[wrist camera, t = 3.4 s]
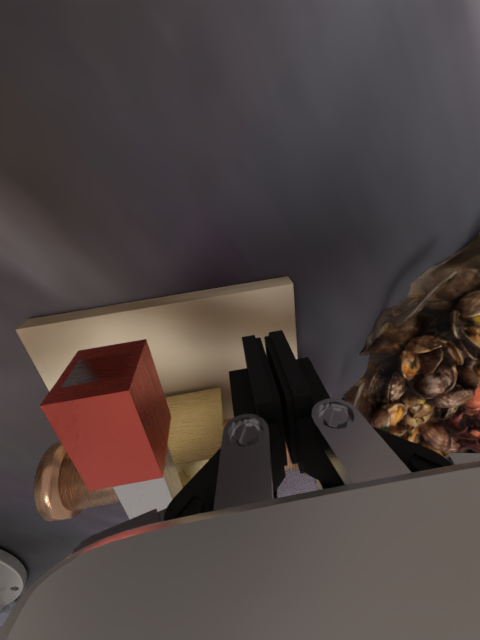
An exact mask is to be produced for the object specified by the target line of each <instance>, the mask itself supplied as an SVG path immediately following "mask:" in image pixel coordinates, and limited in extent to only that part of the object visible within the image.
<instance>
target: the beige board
mask: <svg viewBox="0 0 480 640" xmlns="http://www.w3.org/2000/svg"><path fill="white" fill-rule="evenodd" d="M279 330H282V331H283V333H284V335H285V337H286V339H287V341H288V343H289V346H290V348H291V350H292V352H293V354H294V356H295V358H296V359H298V356H297V339H296V322H295V305H294V287H293V283H292V281H291V280H290V279H289V277H288V276H286V277H280V278H274V279H268V280H262V281H256V282H250V283H244V284H238V285H231V286H225V287H219V288H213V289H207V290H201V291H195V292H189V293H183V294H177V295H171V296H165V297H159V298H153V299H147V300H141V301H134V302H128V303H122V304H116V305H110V306H104V307H98V308H92V309H86V310H80V311H74V312H68V313H62V314H56V315H50V316H44V317H37V318H31V319H27V320H26V321H25V322H24V323H23V324H21V325H20V326H19V327H18V328H17V329H16V332H17V333H18V335H19V337H20V339H21V341H22V343H23V344H24V346H25V348H26V350H27V352H28V354H29V355H30V357H31V359H32V361H33V363H34V364H35V366H36V368H37V370H38V372H39V374H40V375H41V377H42V379H43V381H44V383H45V385H46V386H47V388H48V390H49V392H50V391H51V389H52V388H53V386H54V385H55V383H56V382H57V380H58V379H59V378H60V376H61V375H62V373H63V372H64V370H65V369H66V367H67V366H68V365H69V363H70V362H71V360H72V359H73V357H74V356H75V354H76V353H77V351H79V350H85V349H91V348H97V347H102V346H108V345H114V344H120V343H126V342H132V341H138V340H144V339H146V340H147V343H148V346H149V349H150V352H151V355H152V358H153V361H154V364H155V367H156V370H157V373H158V377H159V380H160V383H161V386H162V389H163V392H164V395H165V397H170V396H176V395H181V394H187V393H193V392H199V391H204V390H210V389H216V388H221V393H222V398H223V402H224V407H225V412H226V417H227V419H229V418H234V414H233V405H232V396H231V388H230V379H229V371H234V370H239V369H245V368H247V367H246V361H245V355H244V348H243V342H242V337H245V336H251V335H255V337H256V338H259V337H260V338H261V341H262V344H263V347H264V350H265V353H266V348H265V340H264V337H265V336H269V332H273V331H279Z"/></svg>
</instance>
